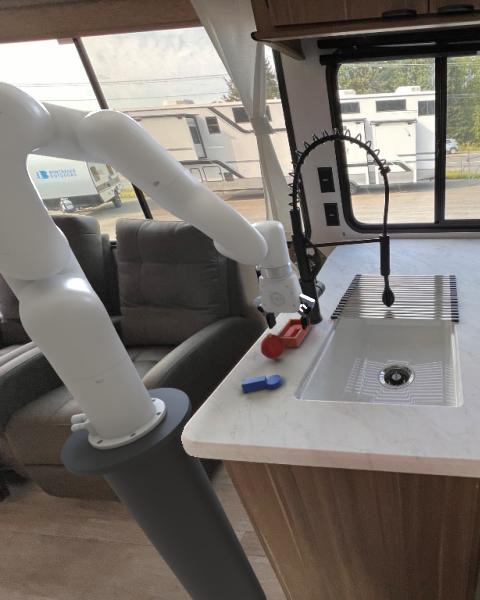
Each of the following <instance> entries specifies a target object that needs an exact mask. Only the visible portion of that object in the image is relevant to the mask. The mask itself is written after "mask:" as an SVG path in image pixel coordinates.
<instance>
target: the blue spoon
mask: <svg viewBox="0 0 480 600" xmlns="http://www.w3.org/2000/svg"><path fill="white" fill-rule="evenodd" d="M282 384H283V381H282V377H281V376H280V375H279V374H272V375H269V376H268V377H267V376H266V375H261V376H254V377H250V378H244V379H242V381H241V388H242V391H243V393H244V394H245V393H250V392H255V391H260V390H265V389H268V390H276V389H278V388H280V387H281V386H282Z"/></svg>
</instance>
